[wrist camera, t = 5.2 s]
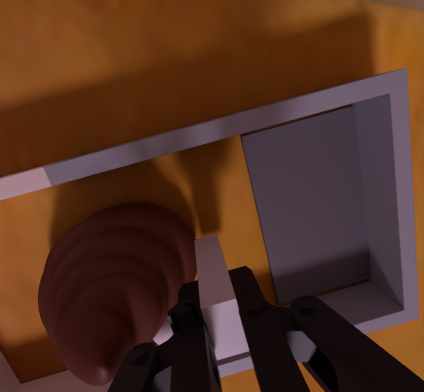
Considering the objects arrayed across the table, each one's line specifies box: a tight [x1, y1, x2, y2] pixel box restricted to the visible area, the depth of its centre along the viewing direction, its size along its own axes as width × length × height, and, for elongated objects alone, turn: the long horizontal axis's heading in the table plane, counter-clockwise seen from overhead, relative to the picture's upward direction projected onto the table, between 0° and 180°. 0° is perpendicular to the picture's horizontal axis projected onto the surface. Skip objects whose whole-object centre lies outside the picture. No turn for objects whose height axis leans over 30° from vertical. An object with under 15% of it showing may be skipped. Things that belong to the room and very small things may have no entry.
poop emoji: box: [38, 203, 197, 386], centre depth 15 cm, size 10×8×9 cm
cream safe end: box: [0, 159, 113, 392], centre depth 17 cm, size 11×16×4 cm
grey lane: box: [43, 68, 419, 378], centre depth 18 cm, size 19×16×4 cm
